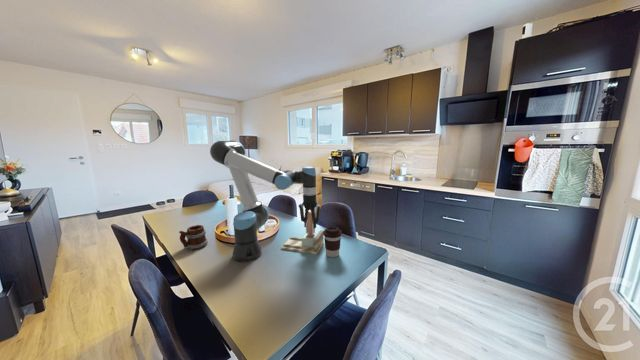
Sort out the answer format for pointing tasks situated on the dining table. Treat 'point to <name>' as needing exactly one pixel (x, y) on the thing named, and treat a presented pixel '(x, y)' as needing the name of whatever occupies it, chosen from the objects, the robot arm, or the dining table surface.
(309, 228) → the dowel
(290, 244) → the board
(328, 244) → the coffee cup
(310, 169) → the robot arm
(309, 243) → the block
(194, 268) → the dining table surface
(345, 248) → the dining table surface
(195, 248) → the mug
